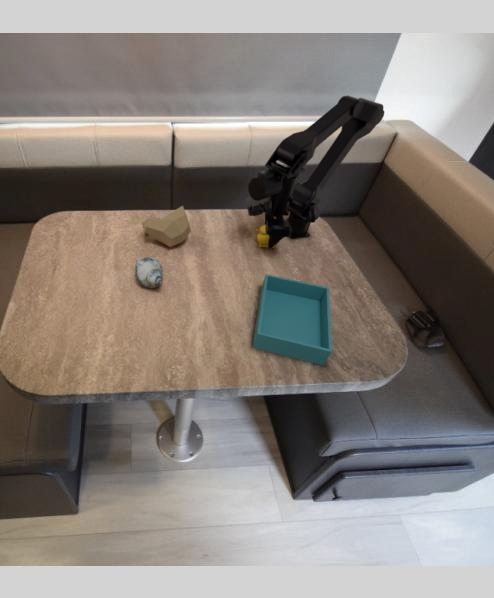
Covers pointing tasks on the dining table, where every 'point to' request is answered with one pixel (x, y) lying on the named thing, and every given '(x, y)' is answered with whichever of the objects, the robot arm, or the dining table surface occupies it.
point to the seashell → (148, 272)
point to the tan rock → (168, 227)
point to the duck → (262, 237)
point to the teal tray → (294, 320)
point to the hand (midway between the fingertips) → (267, 238)
